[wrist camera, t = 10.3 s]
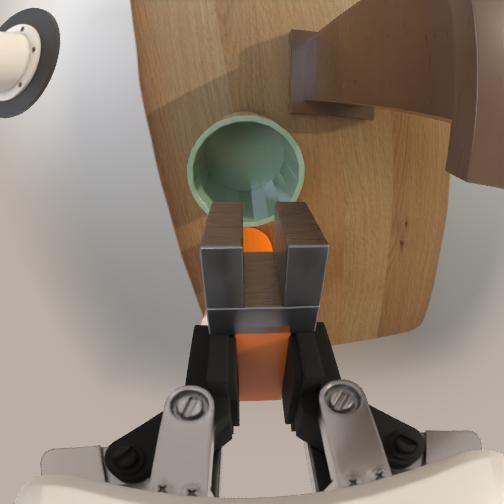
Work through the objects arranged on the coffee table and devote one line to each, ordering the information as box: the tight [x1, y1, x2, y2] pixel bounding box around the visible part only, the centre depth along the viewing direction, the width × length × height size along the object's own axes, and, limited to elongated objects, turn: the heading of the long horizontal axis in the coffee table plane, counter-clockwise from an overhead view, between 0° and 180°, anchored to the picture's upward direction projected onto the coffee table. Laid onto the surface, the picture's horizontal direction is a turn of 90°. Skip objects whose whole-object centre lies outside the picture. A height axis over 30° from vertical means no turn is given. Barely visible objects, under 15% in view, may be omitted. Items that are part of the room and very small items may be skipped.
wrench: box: [199, 202, 329, 401], centre depth 10 cm, size 6×3×3 cm, turn 0°
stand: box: [288, 0, 504, 189], centre depth 16 cm, size 10×10×29 cm
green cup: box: [187, 111, 305, 227], centre depth 29 cm, size 10×10×10 cm
